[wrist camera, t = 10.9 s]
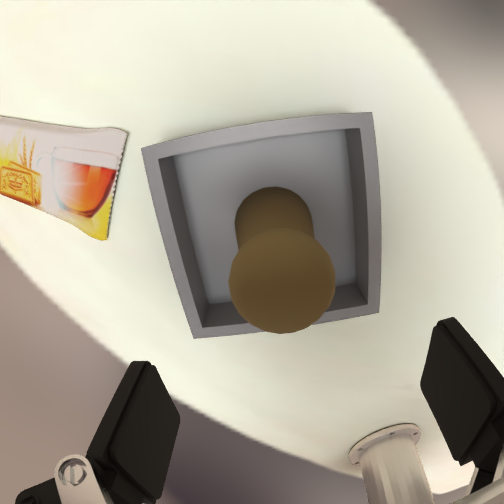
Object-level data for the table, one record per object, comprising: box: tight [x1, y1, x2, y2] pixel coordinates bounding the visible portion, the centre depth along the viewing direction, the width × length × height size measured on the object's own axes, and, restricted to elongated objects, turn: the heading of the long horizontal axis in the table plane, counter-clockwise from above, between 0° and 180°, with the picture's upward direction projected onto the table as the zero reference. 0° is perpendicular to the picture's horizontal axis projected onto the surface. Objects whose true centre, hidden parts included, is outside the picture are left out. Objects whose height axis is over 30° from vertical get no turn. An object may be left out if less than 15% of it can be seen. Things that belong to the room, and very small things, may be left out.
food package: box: [0, 116, 128, 240], centre depth 21 cm, size 27×2×10 cm
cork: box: [228, 186, 335, 334], centre depth 18 cm, size 6×6×11 cm
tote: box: [141, 112, 381, 339], centre depth 22 cm, size 15×15×4 cm
